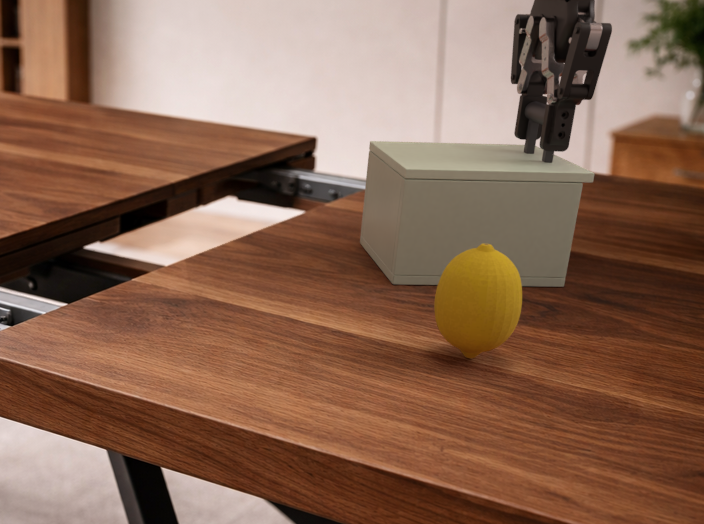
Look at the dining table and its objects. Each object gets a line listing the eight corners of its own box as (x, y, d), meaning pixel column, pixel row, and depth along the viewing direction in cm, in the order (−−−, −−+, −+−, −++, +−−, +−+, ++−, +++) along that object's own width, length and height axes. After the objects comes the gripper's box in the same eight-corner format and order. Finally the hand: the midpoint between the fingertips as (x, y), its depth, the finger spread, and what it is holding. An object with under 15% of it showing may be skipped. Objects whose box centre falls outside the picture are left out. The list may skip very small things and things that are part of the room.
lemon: (411, 347, 66) (425, 235, 63) (478, 339, 68) (494, 230, 65) (459, 378, 61) (477, 258, 58) (529, 368, 63) (550, 252, 60)
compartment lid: (532, 153, 88) (542, 96, 86) (593, 182, 77) (605, 117, 75) (368, 149, 87) (374, 91, 85) (404, 178, 76) (412, 112, 74)
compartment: (509, 245, 91) (524, 153, 88) (564, 287, 80) (583, 183, 77) (359, 243, 91) (368, 150, 87) (392, 284, 79) (404, 179, 76)
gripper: (668, -73, 69) (621, 162, 75) (582, -67, 82) (548, 131, 89) (567, -77, 68) (528, 160, 75) (497, -71, 82) (469, 129, 88)
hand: (539, 143), depth 82 cm, fingers closed on compartment lid, 5 cm apart
